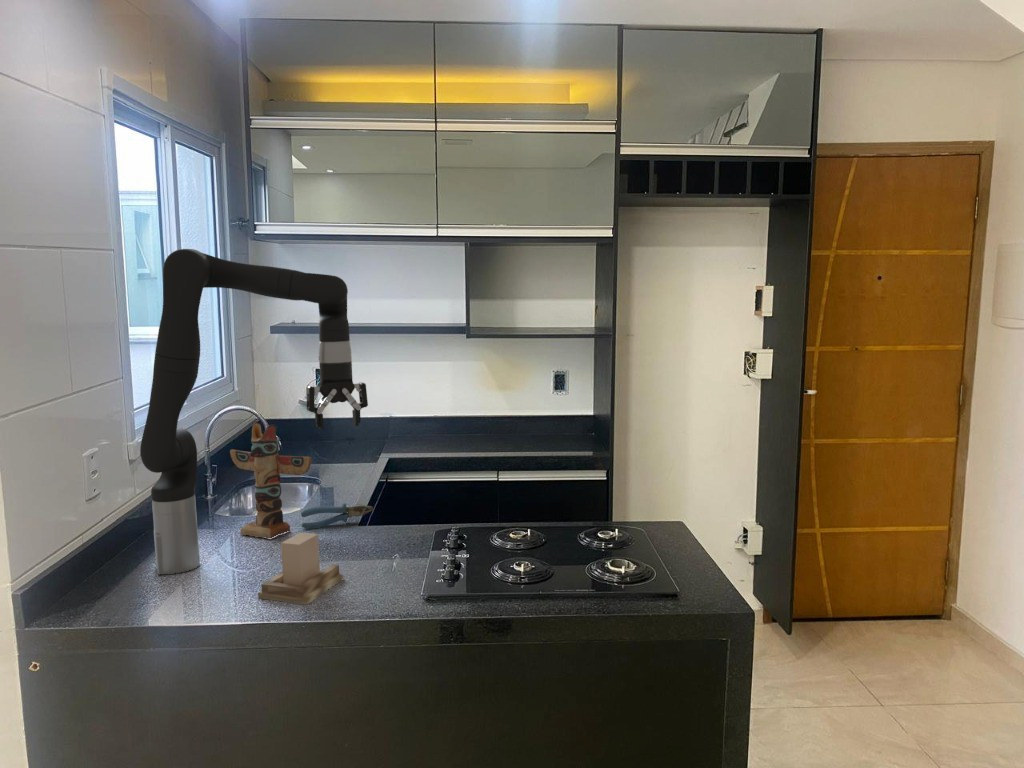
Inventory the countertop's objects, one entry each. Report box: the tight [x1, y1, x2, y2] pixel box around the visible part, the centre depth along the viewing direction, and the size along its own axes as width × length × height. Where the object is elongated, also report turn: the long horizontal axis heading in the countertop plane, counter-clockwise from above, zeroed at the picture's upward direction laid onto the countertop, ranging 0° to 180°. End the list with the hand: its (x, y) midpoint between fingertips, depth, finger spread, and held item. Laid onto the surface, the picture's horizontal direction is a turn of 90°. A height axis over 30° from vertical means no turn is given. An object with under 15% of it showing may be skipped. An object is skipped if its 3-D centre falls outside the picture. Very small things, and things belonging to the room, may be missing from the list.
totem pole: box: [229, 422, 312, 538], centre depth 190 cm, size 29×7×30 cm, turn 65°
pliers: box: [300, 502, 374, 530], centre depth 198 cm, size 20×2×6 cm, turn 115°
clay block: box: [280, 532, 321, 585], centre depth 153 cm, size 7×4×10 cm, turn 163°
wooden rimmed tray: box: [257, 563, 344, 605], centre depth 153 cm, size 14×12×3 cm
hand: (338, 427), depth 170 cm, fingers open, 8 cm apart
